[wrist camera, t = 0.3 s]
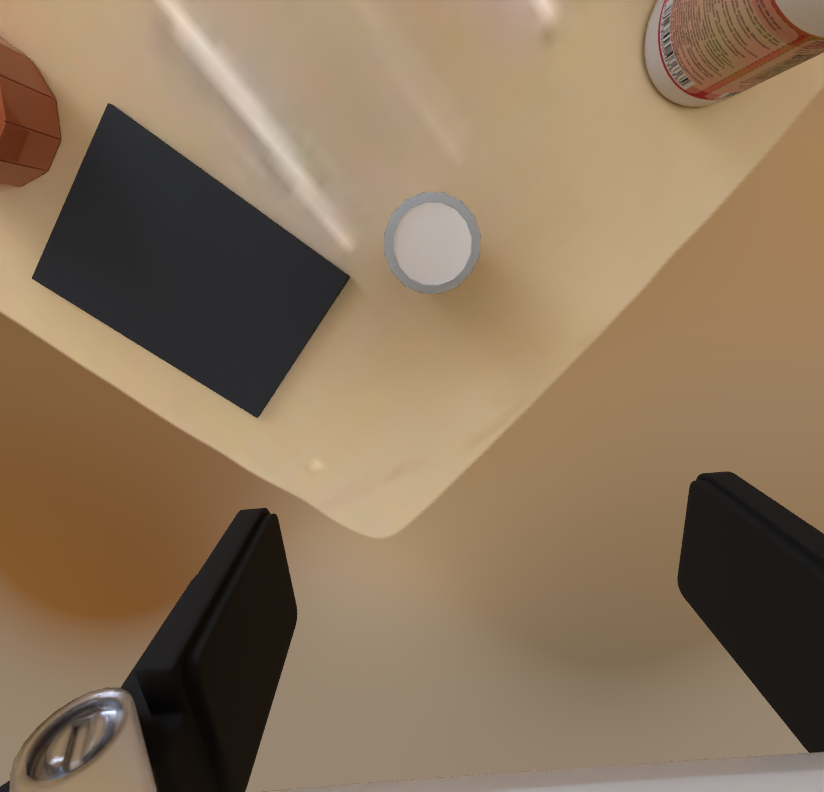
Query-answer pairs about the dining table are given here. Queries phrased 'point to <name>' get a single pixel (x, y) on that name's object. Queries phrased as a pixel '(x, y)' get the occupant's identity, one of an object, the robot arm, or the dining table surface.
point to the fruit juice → (727, 45)
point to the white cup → (432, 242)
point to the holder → (25, 119)
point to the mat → (185, 265)
